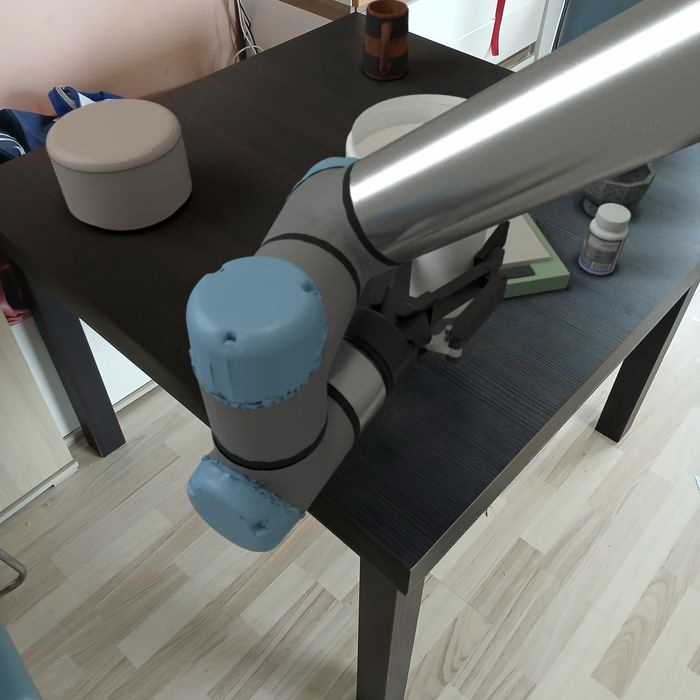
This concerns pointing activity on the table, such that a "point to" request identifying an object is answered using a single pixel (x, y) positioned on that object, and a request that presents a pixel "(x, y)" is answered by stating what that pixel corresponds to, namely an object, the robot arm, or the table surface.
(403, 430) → the table surface
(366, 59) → the mug
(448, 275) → the can
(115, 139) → the container
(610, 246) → the pill bottle
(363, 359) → the robot arm
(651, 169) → the mortar and pestle
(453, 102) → the white round shallow dish
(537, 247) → the kitchen scale
